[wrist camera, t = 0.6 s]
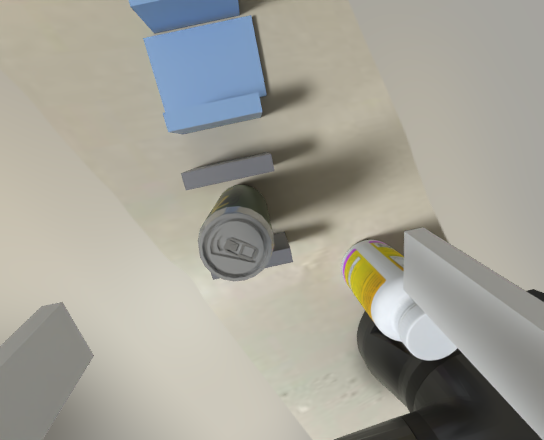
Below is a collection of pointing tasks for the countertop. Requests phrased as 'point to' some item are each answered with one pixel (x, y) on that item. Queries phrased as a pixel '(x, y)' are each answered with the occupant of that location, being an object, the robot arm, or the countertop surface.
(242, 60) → the blue bezel pad
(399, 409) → the countertop surface
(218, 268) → the beer can
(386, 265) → the supplement bottle
